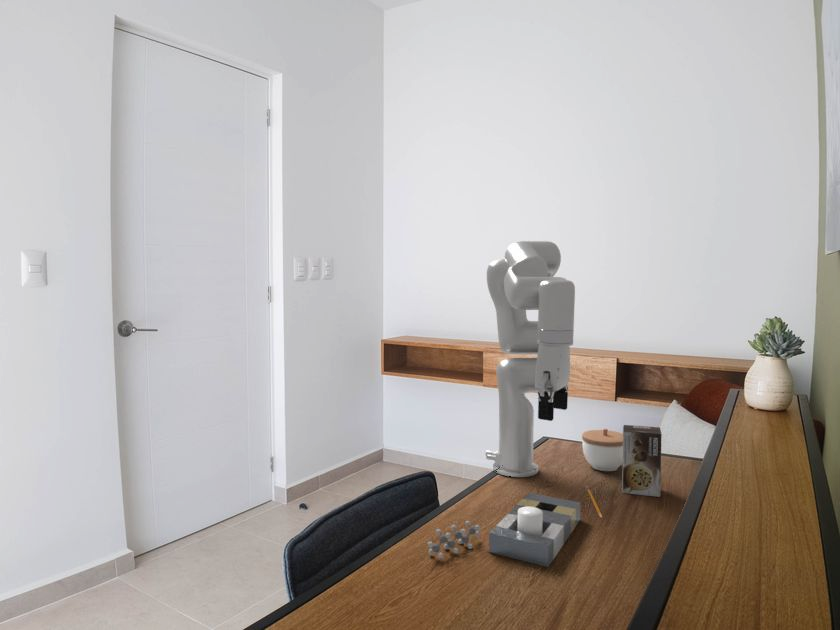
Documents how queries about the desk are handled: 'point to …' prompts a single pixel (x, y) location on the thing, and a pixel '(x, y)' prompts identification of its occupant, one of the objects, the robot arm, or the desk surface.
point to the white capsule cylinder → (530, 520)
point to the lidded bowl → (603, 449)
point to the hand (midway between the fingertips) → (553, 413)
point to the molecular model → (451, 542)
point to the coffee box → (641, 460)
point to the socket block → (533, 548)
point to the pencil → (594, 501)
